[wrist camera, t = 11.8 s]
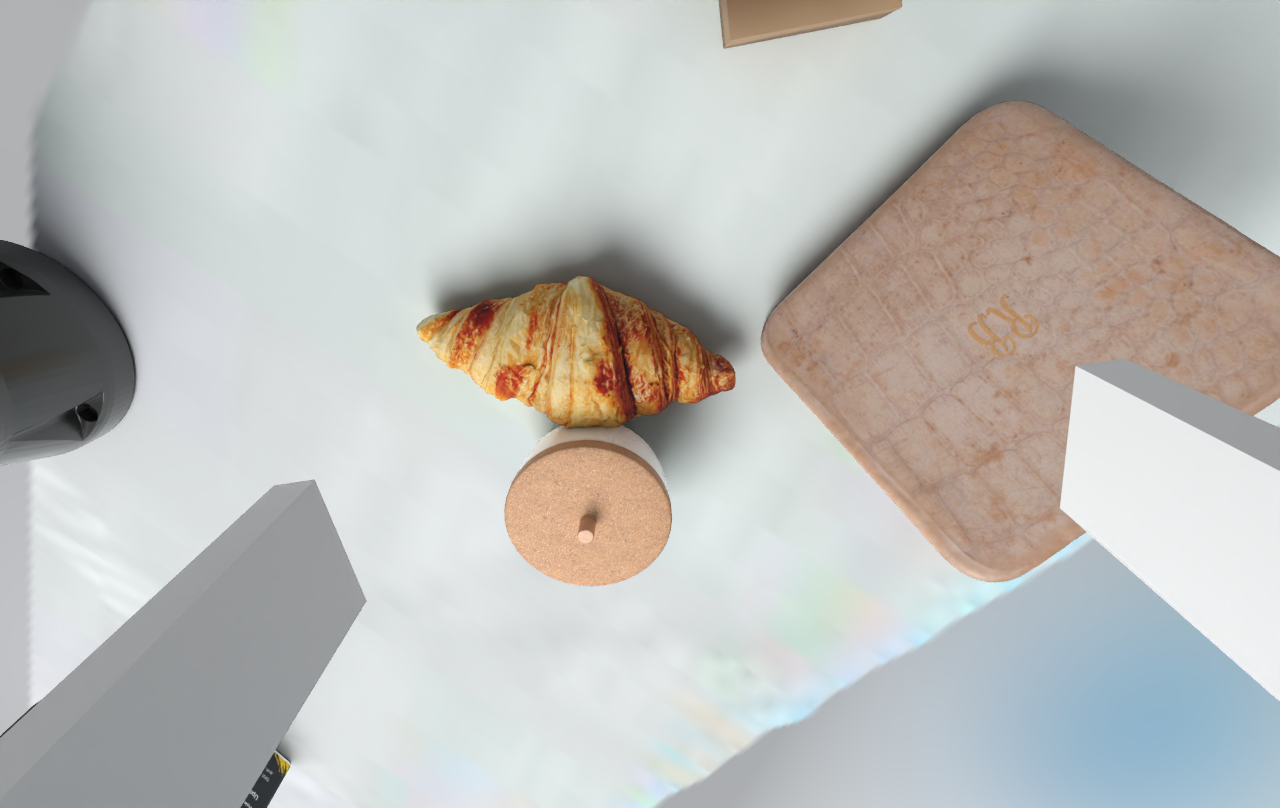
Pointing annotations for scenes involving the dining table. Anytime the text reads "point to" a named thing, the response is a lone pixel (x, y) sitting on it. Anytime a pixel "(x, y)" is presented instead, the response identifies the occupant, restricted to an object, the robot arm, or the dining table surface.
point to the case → (1016, 326)
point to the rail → (793, 17)
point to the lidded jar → (589, 506)
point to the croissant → (578, 353)
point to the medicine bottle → (267, 782)
